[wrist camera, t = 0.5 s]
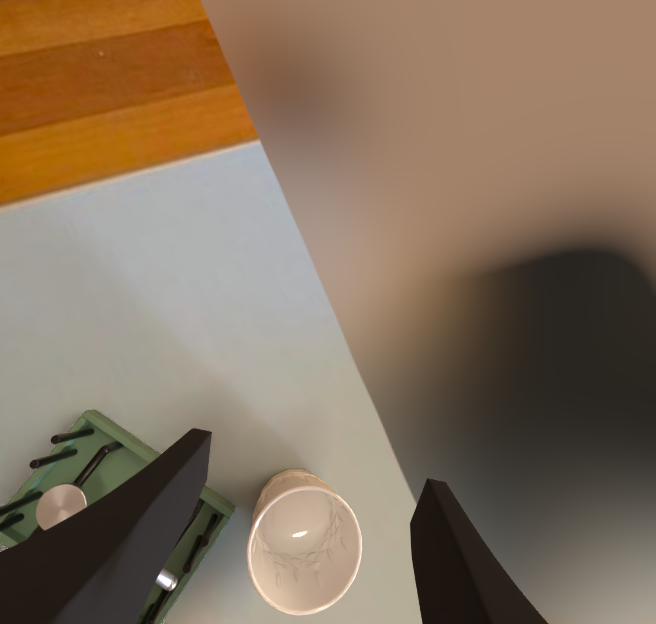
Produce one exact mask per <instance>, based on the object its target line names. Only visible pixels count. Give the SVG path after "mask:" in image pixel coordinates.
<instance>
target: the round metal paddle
mask: <svg viewBox="0 0 656 624" xmlns="http://www.w3.org/2000/svg"><path fill="white" fill-rule="evenodd" d="M87 506H89V497H88V494H87V492H86V490H85V489H84V488H83V487H82V486H80V485H78V484H76V483H70V482H67V483H61V484H59V485H56V486H54V487H52V488H50V489H49V490H47V491H46V492H45V493H44V494H43V495H42V497H41V498H40V500H39V502H38V504H37V507H36V519H37V522H38V524H39V526H40V527H41V528H42V529H43V530H47V529H49V528H51V527H52V526H54V525H56V524H58V523H60V522H61V521H63V520H65V519H67V518H69V517H70V516H72V515H74V514H76V513H77V512H79V511H81V510H82V509H84V508H86V507H87ZM155 583H156V584H158V585H159V586H160V587H162V588H163V589H165V590H167V591H171V590H173V589H174V588H175V587H176V585H177V577H176V576H175V575H174V574H172V573H171V572H169V571H168V570H166V569H165V568H163V569H162V570H161V572H160V574H159V576H158V578H157V580H156V581H155Z"/></svg>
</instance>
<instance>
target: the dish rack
mask: <svg viewBox="0 0 656 624" xmlns="http://www.w3.org/2000/svg"><path fill="white" fill-rule="evenodd" d="M93 434H94V429H92V428H90V429H85V430H80V431H75V432H70V433H65V434H60V435H55V436H53V437H52V438H51V442H52V443H53V444H57V443H62V442H66V441H70V440H74V439H78V438H82V437H86V436H91V435H93ZM123 446H124V445H122V444H121V443H120V442H118V441H116V442H113V443H110V444H107V445H104V446H102V447H101V448H100V449H99V451H98V452H97V453H96V454H95V456H94V457H93V458H92V459H91V461H90V462H89V463H88V464H87V465H86V467H85V468H84V469H83V470H82V472H81V473H80V474H79V475H78V477H77V478H76V479H75V480H74V482H73V483H76V484H78V485H80V486H82V485H83V484H84V483H85V481H86V480H87V479H88V478H89V476H90V475H91V474H92V473H93V471H94V470H95V469H96V468H97V466H98V465H99V464H100V463H101V461H102V460H103V459H104V458H105V456H106V455H107V454H108V453H110V452H113V451H115V450H118V449H121V448H122V447H123ZM77 453H78V451H77V449H71V450H67V451H64V452H60V453H57V454H53V455H50V456H46V457H43V458H40V459H36V460H33V461H31V463H30V467H31V468H32V469H36V468H39V467H42V466H45V465H48V464H51V463H54V462H57V461H60V460H63V459H66V458H69V457H72V456H75V455H76V454H77ZM42 495H43V493H42V492H41V491H37V492H35V493H33V494H30V495H28V496H26V497H23V498H21V499H19V500H17V501H14V502H12V503H10V504H7V505H5V506H3V507H0V517H1V516H3V515H5V514H7V513H10V512H12V511H14V510H16V509H18V508H20V507H22V506H24V505H27V504H29V503H31V502H33V501H35V500H37V499H39V498H41V497H42ZM204 502H205V501H204V500H202V499H201V498H199V500H198V502H197V504H196V507H195V509H194V511H193V513H192V515H191V517H190V519H189V521H188V523H187V524H186V526H185V528H184V530H183V532H182V534H181V536H180V537H179V539H178V541H177V543H176V545H175V547H176V546H177V544H178V543H179V541H180V540H181V539H182V537H183V536H184V534H185V533H186V531H187V530H188V528H189V527H190V525H191V524H192V523H193V521H194V520H195V518H196V517H197V515H198V514H199V512H200V510H201V508H202V506H203V504H204ZM217 518H218V516H217V514H212V515H211V517H210V520H209V522H208V525H207V527H206V529H205V532H204V534H203V536H202V535H198V536H197V537H196V539H195V542H194V544H193V546H192V548H191V551H190V553H189V555H188V557H187V559H186V562H185V564H184V566H183V569H182V570H183V572H184V573H186V574H187V573H189V572H190V571H191V568H192V566H193V563H194V561H195V558H196V556H197V553H198V551H199V548H200V546H203V547H206V546H207V545H208V544H209V541H210V538H211V535H212V532H213V529H214V527H215V524H216V521H217ZM23 519H24V514H22V513H20V514H17V515H15V516H13V517H11V518H9V519H7V520H5V521H3V522H1V523H0V532H1V531H3V530H5V529H7V528H9V527H11V526H12V525H14V524H16V523H18V522H20V521H22V520H23ZM43 531H45V530H43V529H42V528H41V527H40V526H39V525H38V526H37V527H36V529H35V530H34V531H33V532H32V534H31V535H30V536H29V537H28V539H29V538H31V537H33V536H35V535H37V534H39V533H41V532H43ZM175 547H174V548H173V550H174V549H175ZM173 550H172V552H173ZM172 552H171V553H172ZM168 593H169V591H167V590H165V589H162V591H161V593H160V595H159V597H158V599H157V601H156V603H155V604H151V605H150V606H149V608H148V610H147V612H146V614H145V616H144V618H143V620H142V622H141V623H140V624H155V621H156V619H157V617H158V615H159V613H160V611H161V609H162V606H163V604H164V602H165V600H166V598H167V596H168Z"/></svg>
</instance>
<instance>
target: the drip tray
mask: <svg viewBox="0 0 656 624" xmlns="http://www.w3.org/2000/svg"><path fill="white" fill-rule="evenodd" d="M90 428H92V429H94V434H93V435H91V436H86V437H82V438H78V439H74V440H70V441H66V442H62V443H59V444H58V445H57V446H56V447H55V448H54V450H53V451H52V452H51V453H50V454H49V456H50V455H53V454H57V453H60V452H64V451H67V450H71V449H77V451H78V453H77V454H76V455H75V456H72V457H69V458H66V459H63V460H60V461H57V462H54V463H51V464H48V465H45V466H42V467H39V468H38V469H37V470H36V471H35V472H34V473H33V474H32V476H31V477H30V478H29V479H28V480H27V482H26V483H25V484H24V485H23V486H22V487H21V489H20V490H19V491H18V492H17V493H16V495H15V496H14V497H13V498H12V499H11V500H10V502H9V503H8V504H10V503H12V502H14V501H17V500H19V499H21V498H23V497H26V496H28V495H30V494H33V493H35V492H37V491H41V492H42V493H43V494H44V493H45V492H46V491H47V490H49V489H50V488H52V487H54V486H56V485H59V484H61V483H67V482H70V483H73V482H74V480H75V479H76V478H77V477H78V475H79V474H80V473H81V472H82V470H83V469H84V468H85V467H86V465H87V464H88V463H89V462H90V461H91V459H92V458H93V457H94V456H95V454H96V453H97V452H98V451H99V449H100V448H101V447H102V446H104V445H107V444H110V443H113V442H116V441H118V442H120V443H121V444H122V445H124V446H123V447H122V448H121V449H118V450H115V451H113V452H110V453H108V454H107V455H106V456H105V458H104V459H103V460H102V461H101V463H100V464H99V465H98V466H97V468H96V469H95V470H94V471H93V473H92V474H91V475H90V476H89V478H88V479H87V480H86V481H85V483H84V484H83V485H82V487H83V488H84V489H85V490H86V492H87V494H88V497H89V505H91V504H92V503H94V502H95V501H97V500H99V499H100V498H102V497H103V496H105V495H106V494H108V493H109V492H111V491H112V490H114V489H115V488H117V487H118V486H119V485H121V484H122V483H124V482H125V481H127V480H128V479H129V478H131V477H132V476H134V475H135V474H136V473H138V472H139V471H140V470H142V469H143V468H144V467H146V466H147V465H148V464H150V463H151V462H152V461H153V460H155V459H156V458H157V457H159V456H160V454H159V453H157V452H156V451H154V450H153V449H151V448H150V447H148V446H147V445H146V444H144V443H143V442H141V441H140V440H138V439H137V438H135V437H134V436H132V435H131V434H130V433H128V432H127V431H125V430H124V429H122V428H121V427H119V426H118V425H117V424H115V423H114V422H112V421H111V420H109V419H108V418H106V417H105V416H104V415H102V414H101V413H99V412H98V411H96V410H87V411H86V412H85V413H84V414H83V415H82V417H81V418H80V419H79V420H78V421H77V422H76V424H75V425H74V426H73V427H72V428H71V429H70V431H69V432H68V433H70V432H75V431H80V430H85V429H90ZM199 498H201V499H202V500H204V501H205V502H204V504H203V506H202V508H201V510H200V512H199V514H198V515H197V517H196V518H195V520H194V521H193V523H192V524H191V525H190V527H189V528H188V530H187V531H186V533H185V534H184V536H183V537H182V539H181V540H180V541H179V543H178V544H177V546H176V547H175V549H174V550H173V552H172V553H171V554H170V556H169V558H168V559H167V561H166V563H165V565H164V567H163V568H165V569H166V570H168V571H169V572H171V573H172V574H174V575H175V576H176V577H177V585H176V587H175V588H174V589H173V590H171V591H169V593H168V596H167V598H166V600H165V602H164V604H163V606H162V609H161V611H160V613H159V615H158V617H157V619H156V621H155V624H161V622H162V621H163V619H164V618H165V616H166V615H167V613H168V612H169V610H170V609H171V607H172V606H173V604H174V603H175V601H176V600H177V598H178V597H179V595H180V594H181V592H182V591H183V589H184V588H185V586H186V585H187V583H188V582H189V580H190V579H191V577H192V576H193V574H194V573H195V571H196V570H197V568H198V567H199V565H200V564H201V562H202V561H203V559H204V558H205V556H206V555H207V553H208V552H209V550H210V549H211V547H212V546H213V544H214V543H215V541H216V540H217V538H218V537H219V535H220V534H221V532H222V531H223V529H224V528H225V526H226V525H227V523H228V522H229V520H230V518H231V517H232V515H233V514H234V511H235V506H234V505H232V504H231V503H229V502H228V501H226V500H225V499H224V498H222V497H221V496H219V495H218V494H216V493H215V492H213V491H212V490H211V489H209V488H208V487H206V486H205V485H204V488H203V490H202V492H201V495H200V497H199ZM39 500H40V498H39V499H37V500H35V501H33V502H31V503H29V504H27V505H24V506H22V507H20V508H18V509H16V510H14V511H12V512H10V513H7V514H5V515H3V516H1V517H0V523H1V522H3V521H5V520H7V519H9V518H11V517H13V516H15V515H17V514H20V513H22V514H24V519H23V520H22V521H20V522H18V523H16V524H14V525H12V526H11V527H9V528H7V529H5V530H3V531H1V532H0V542H1V543H2V544H4V545H5V546H7V547H8V548H10V547H13V546H15V545H17V544H19V543H21V542H23V541H25V540H27V539H28V537H29V536H30V535H31V534H32V532H33V531H34V530H35V529H36V527H37V526H38V525H39V524H38V522H37V519H36V507H37V504H38V502H39ZM212 514H217V516H218V518H217V521H216V524H215V527H214V529H213V532H212V535H211V538H210V541H209V544H208V545H207V546H206V547H203V546H200V548H199V551H198V553H197V556H196V558H195V561H194V563H193V566H192V568H191V571H190V572H189V573H187V574H186V573H184V572H183V570H182V569H183V566H184V564H185V562H186V559H187V557H188V555H189V553H190V551H191V548H192V546H193V544H194V542H195V539H196V537H197V536H198V535H202V536H203V534H204V532H205V529H206V527H207V525H208V522H209V520H210V517H211V515H212ZM162 589H163V588H162V587H160V586H159V585H158V584H156V583H154V585H153V587H152V589H151V591H150V593H149V595H148V597H147V600H146V602H145V604H144V606H143V608H142V611H141V613H140V615H139V617H138V620H137V622H136V624H140V623H141V622H142V620H143V618H144V616H145V614H146V612H147V610H148V608H149V606H150V605H151V604H155V603H156V601H157V599H158V597H159V595H160V593H161V591H162Z"/></svg>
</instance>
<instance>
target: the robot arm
mask: <svg viewBox="0 0 656 624" xmlns="http://www.w3.org/2000/svg"><path fill="white" fill-rule="evenodd" d="M211 434H212V432H209V431H205V430H200V429H195V428H193V429H191V430H190V431H189V432H187V433H186V434H185V435H184V436H183V437H182V438H180V439H179V440H178V441H177V442H176V443H174V444H173V445H172V446H171V447H170V448H168V449H167V450H166V451H165V452H164V453H162V454H161V455H160V456H159V457H157V458H156V459H155V460H153V461H152V462H151V463H150V464H148V465H147V466H146V467H144V468H143V469H142V470H140V471H139V472H138V473H136V474H135V475H134V476H132V477H131V478H129V479H128V480H127V481H125V482H124V483H122V484H121V485H119V486H118V487H117V488H115V489H114V490H112V491H111V492H109V493H108V494H106V495H105V496H103V497H102V498H100V499H99V500H97V501H95V502H94V503H92V504H91V505H89V506H87V507H86V508H84V509H82V510H81V511H79V512H77V513H76V514H74V515H72V516H70V517H69V518H67V519H65V520H63V521H61V522H60V523H58V524H56V525H54V526H52V527H51V528H49V529H47V530H45V531H43V532H41V533H39V534H37V535H35V536H33V537H31V538H29V539H27V540H25V541H23V542H21V543H19V544H17V545H15V546H13V547H10V548H8V549H6V550H4V551H2V552H0V624H136V622H137V620H138V617H139V615H140V613H141V611H142V608H143V606H144V604H145V602H146V600H147V597H148V595H149V593H150V591H151V589H152V587H153V585H154V583H155V581H156V580H157V578H158V576H159V574H160V572H161V570H162V569H163V567H164V565H165V563H166V561H167V559H168V558H169V556H170V554H171V552H172V550H173V548H174V547H175V545H176V543H177V541H178V539H179V537H180V536H181V534H182V532H183V530H184V528H185V526H186V524H187V523H188V521H189V519H190V517H191V515H192V513H193V511H194V509H195V507H196V504H197V502H198V500H199V497H200V495H201V492H202V490H203V488H204V485H205V483H206V480H207V472H208V463H209V453H210V444H211ZM410 532H411V552H412V562H413V568H414V575H415V581H416V587H417V593H418V599H419V605H420V611H421V617H422V623H423V624H548V623H547V622H546V621H545V619H544V618H543V617H542V616H541V615H540V614H539V613H538V611H537V610H536V609H535V608H534V607H533V605H532V604H531V603H530V602H529V601H528V599H527V598H526V597H525V596H524V595H523V593H522V592H521V591H520V590H519V588H518V587H517V586H516V585H515V583H514V582H513V581H512V579H511V578H510V577H509V575H508V574H507V573H506V571H505V570H504V569H503V567H502V566H501V565H500V563H499V562H498V561H497V559H496V558H495V556H494V555H493V554H492V552H491V551H490V550H489V548H488V547H487V545H486V544H485V542H484V541H483V539H482V538H481V536H480V535H479V533H478V532H477V530H476V529H475V527H474V526H473V524H472V523H471V521H470V520H469V518H468V517H467V515H466V513H465V512H464V510H463V509H462V507H461V506H460V504H459V502H458V501H457V499H456V498H455V496H454V495H453V493H452V491H451V490H450V488H449V487H448V485H447V484H446V482H442V481H437V480H433V479H428V478H427V481H426V483H425V486H424V488H423V491H422V494H421V496H420V499H419V501H418V504H417V507H416V509H415V512H414V514H413V517H412V520H411V522H410Z"/></svg>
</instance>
